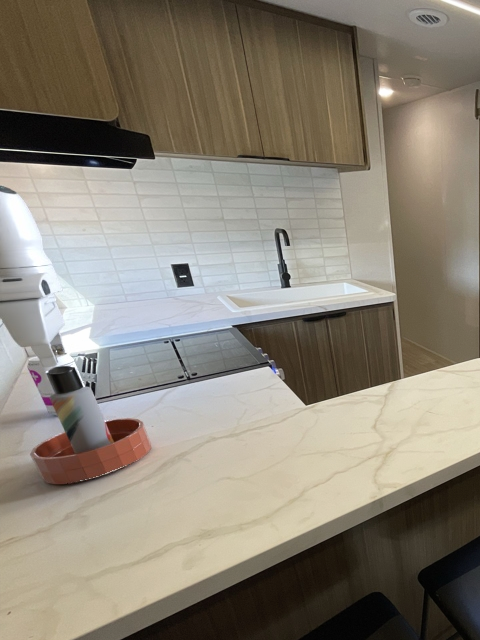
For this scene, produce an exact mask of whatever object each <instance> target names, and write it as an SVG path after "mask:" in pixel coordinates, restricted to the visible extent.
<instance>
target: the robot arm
mask: <svg viewBox="0 0 480 640" xmlns="http://www.w3.org/2000/svg"><path fill="white" fill-rule="evenodd" d="M43 243H44V242H43V237H42V234H41V231H40V229H39V226H38V225H37V222H36V220H35V217H34V216H33V214H32V212H31V210H30V209H29V207H28V205H27V203H26V202H25V200H24V199H23V198H22V196H20V194H19V193H18V192H16V191H15V190H13V189H11V188H9V187H7V186H4V185H0V320H1V321H2V323H3V325H4V326H5V329H6V330H7V331H8V333H9V335H10V337H11V338H12V340H13V341H14V342H15V343H16V345H17V346H19V347H20V348H31V350H32V352H33V353H34V355H35V356H36V357H38V358H39V359H40V362H41V364H42V366H43V367H53V366H56V365H57V363H58V360H57V358H56V356H55V355H62V354H64V353H66V349H65V347H64V344H63V338H62V334H61V330H62V328H63V327H64V326H65V320H64V316H63V314H62V312H61V310H60V307H59V306H58V304H57V297H56V295H55V294H57V293H60V292H62V291H63V287H62V285H61V282H60V279H59V277H58V275H57V271H56V269H55V267H54V264H53V262H52V260H51V259H50V258H49V257H48V255H47V254H46V252H45V250H44V247H43Z"/></svg>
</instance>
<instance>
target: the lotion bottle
mask: <svg viewBox="0 0 480 640" xmlns="http://www.w3.org/2000/svg"><path fill="white" fill-rule="evenodd" d="M46 374H47V377H48V379H49V381H50V384H51V386H52V388H53V390H54V394H52V395H51V396H50V400H51V402H52V405H53V407H54V409H55V411H56V413H57V415H56V416H57V418H58V420H59V422H60V424H61V426H62V428H63V430H64V432H65V433H66V435H67V437H68V439H69V441H70V443H71V445H72V448H73V450H74V452H75V454H79V453H83V452H87V451H91V450H94V449H98V448H100V447H103V446H106V445H109V444H112V443H114V441H113V439H112V437H111V434H110V432H109V430H108V427H107V425H106V422H105V421H106V420H105V418H104V416H103V413H102V410H101V408H100V406H99V404H98V401H97V399H96V397H95V394H94V392H93V390H92V388H91V387H90V386H85V387H83V384H82V382H81V380H80V378H79V376H78V373H77V371H76V369H75V367H74V366H72V367H71V366H59V367H55V368H52V369H50V370H49V371H48V372H46Z"/></svg>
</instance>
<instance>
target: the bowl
mask: <svg viewBox="0 0 480 640" xmlns="http://www.w3.org/2000/svg"><path fill="white" fill-rule="evenodd" d="M105 422H106V425H107V427H108V430H109V432H110V434H111V437H112V439H113V441H114V443H112V444H109V445H106V446H103V447H100V448H98V449H94V450H91V451H87V452H83V453H79V454H75V452H74V450H73V448H72V445H71V443H70V441H69V439H68V437H67V435H66V433H65V431H63V432H61V433H58V434H55V435H53V436H51V437H48V438H47V439H45V440H43V441H41V442H40V443H38V444H37V445H36V446H34V447H33V448H32V449H31V451H30V453H29V456H30V458H31V460H32V462H33V464H34V465H35V467H36V470H37V471H38V473H39V475H40V478H41V479H42V480H43V481H44V482H45V483H46V484H50V485H51V484H52V485H67V483H68V484H72V483H71V482H75V483H77V482H76V481H80V480H85V479H89V478H93V477H96V476H100V475H102V474H105V473H107V472H110V471H112V470H115V469H118V468H120V467H123V466H125V465H128V464H130V463H132V462H134V461H136V460H138V459H139V460H141V459H142V458H143V457H145V456H146V455H148V453H149V452H150V451H151V449H152V442H151V440H150V437H149V434H148V431H147V429H146V427H145V424H144V422H143V420H141V419H138V418H132V417H131V418H130V417H127V418H114V419H107V420H105ZM141 457H142V458H141ZM139 460H138V461H139ZM136 462H137V461H136ZM134 463H135V462H134ZM132 464H133V463H132ZM130 465H131V464H130Z"/></svg>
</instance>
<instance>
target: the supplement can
mask: <svg viewBox="0 0 480 640" xmlns="http://www.w3.org/2000/svg"><path fill="white" fill-rule="evenodd" d="M55 356H56V358H57V360H58V363H57V365H56V366H53V367H43V366H42V364H41V362H40V359H39V358H38V357H37V356H33V357H31V358H28V360H27V365H26V366H27V370H28V372H29V374H30V376H31V378H32V380H33V383H34V385H35V386H36V389H37V391H38V393H39V395H40V397H41V400H42V402H43V403H44V406H45V408H46V410H47V412H48V414H50V415H53V416H58V415H57V413H56V411H55V409H54V407H53V405H52V402H51V400H50V396H51V395H52V394H54V390H53V388H52V386H51V384H50V381H49V379H48V377H47V374H46V372H48V371H49V370H50V369H52V368H55V367H59V366H71V367H72V366H74V367H75V369H76V371H77V373H78V376H79V378H80V380H81V382H82V384H83V387H86V386H85V383H84V381H83V378H82V376H81V373H80V372H79V368H78V367H77V364H76V362H75V360H74V357H72V356H71V355H70V354H69V353H68V352H65V353H64V354H62V355H55Z"/></svg>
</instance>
